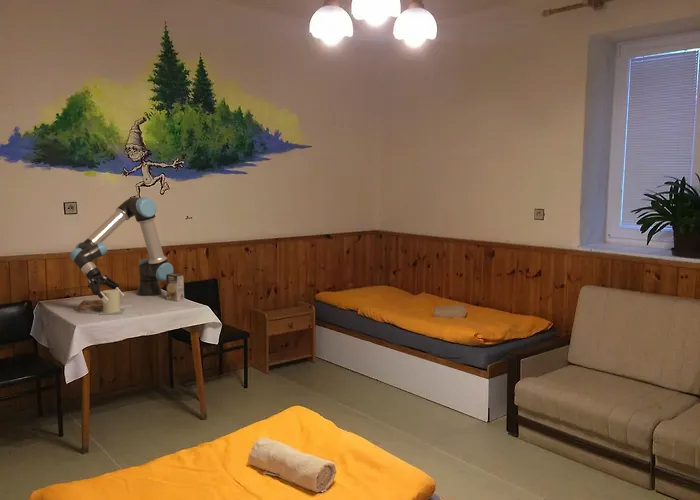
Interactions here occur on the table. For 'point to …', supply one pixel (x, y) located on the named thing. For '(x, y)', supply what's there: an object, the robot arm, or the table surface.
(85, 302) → the puzzle board
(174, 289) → the coffee box
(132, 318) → the table surface
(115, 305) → the can
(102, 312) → the mat
